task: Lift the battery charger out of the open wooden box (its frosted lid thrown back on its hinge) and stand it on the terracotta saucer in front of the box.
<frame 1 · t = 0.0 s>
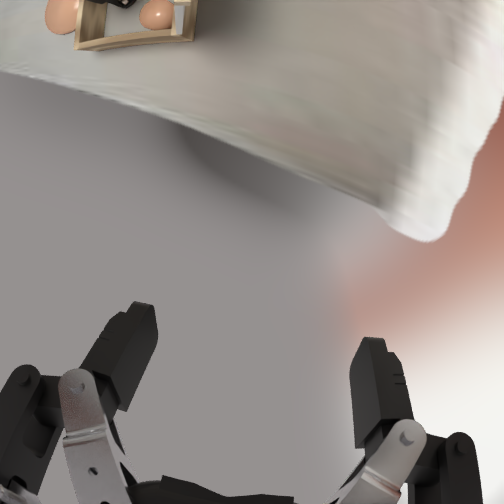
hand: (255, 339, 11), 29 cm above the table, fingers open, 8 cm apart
peach rounded capsule: (170, 19, 28), resting in wooden box
saucer: (71, 4, 26), on the table
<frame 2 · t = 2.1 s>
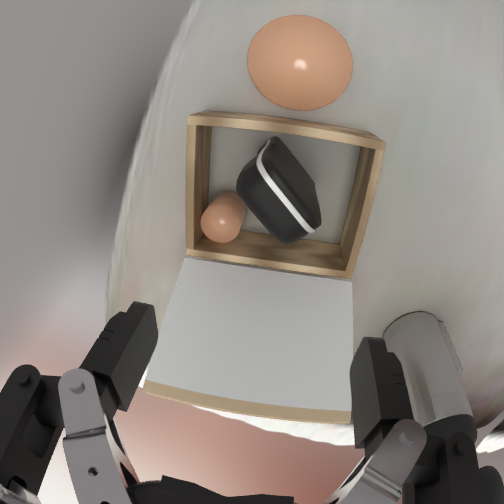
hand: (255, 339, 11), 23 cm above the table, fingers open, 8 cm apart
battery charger: (282, 169, 31), resting in wooden box
peach rounded capsule: (228, 207, 34), resting in wooden box
lid: (257, 337, 26), point 12 cm above the table, hinge at 110.0°
wooden box: (280, 183, 32), on the table
saucer: (300, 62, 25), on the table
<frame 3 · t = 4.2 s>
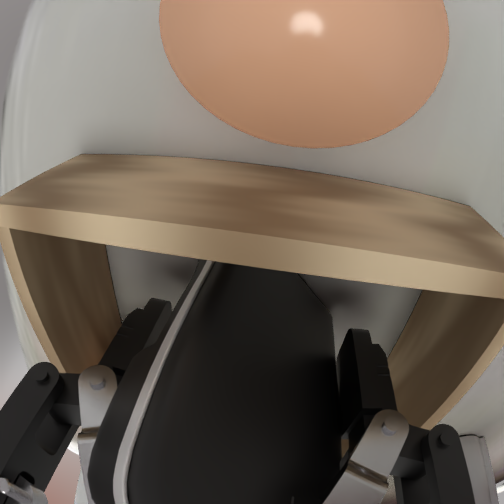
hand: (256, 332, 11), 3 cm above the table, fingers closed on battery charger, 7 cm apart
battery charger: (260, 283, 14), resting in wooden box, touching gripper
wooden box: (257, 311, 15), on the table
saucer: (307, 12, 8), on the table
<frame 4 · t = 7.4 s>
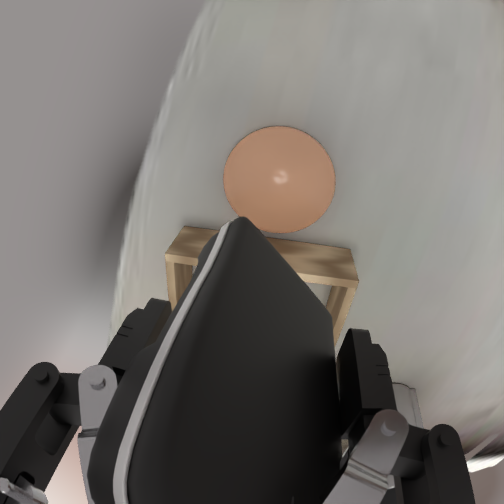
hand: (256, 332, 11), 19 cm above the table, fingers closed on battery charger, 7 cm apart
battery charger: (260, 283, 14), point 16 cm above the table, touching gripper
wooden box: (259, 292, 34), on the table
saucer: (279, 180, 27), on the table
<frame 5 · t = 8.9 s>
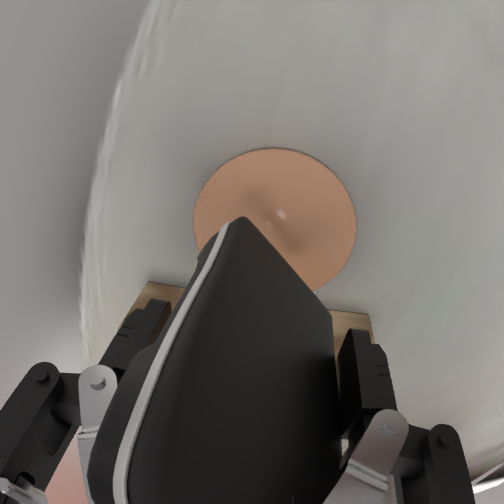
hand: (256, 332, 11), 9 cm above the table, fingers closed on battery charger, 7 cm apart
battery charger: (260, 283, 14), point 6 cm above the table, touching gripper
wooden box: (249, 360, 26), on the table
saucer: (274, 227, 19), on the table
when the fingers open (5 cm above the table, at t = 10.4 s): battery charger drops 1 cm, resting on saucer.
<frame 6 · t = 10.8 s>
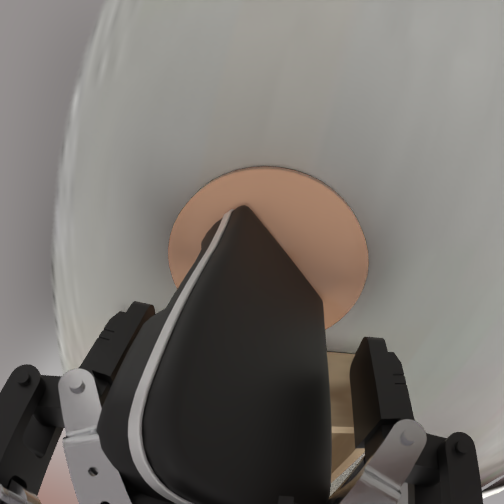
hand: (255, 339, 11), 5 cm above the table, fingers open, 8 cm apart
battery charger: (257, 269, 15), point 1 cm above the table, touching saucer
wooden box: (241, 398, 22), on the table
saucer: (267, 263, 16), on the table
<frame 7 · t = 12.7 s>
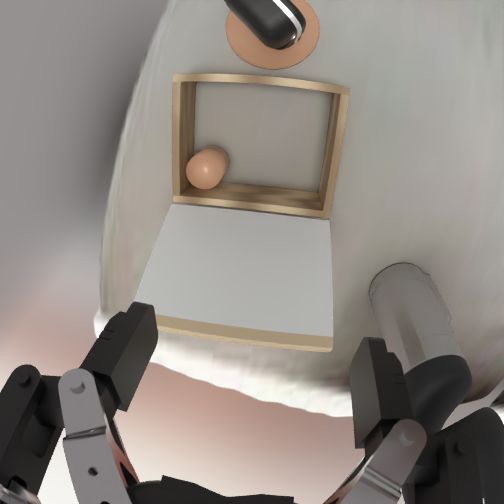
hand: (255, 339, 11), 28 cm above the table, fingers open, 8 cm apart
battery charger: (268, 27, 26), point 1 cm above the table, touching saucer
peach rounded capsule: (213, 161, 36), resting in wooden box
lid: (239, 268, 28), point 12 cm above the table, hinge at 110.0°
wooden box: (259, 135, 34), on the table
saucer: (272, 28, 27), on the table
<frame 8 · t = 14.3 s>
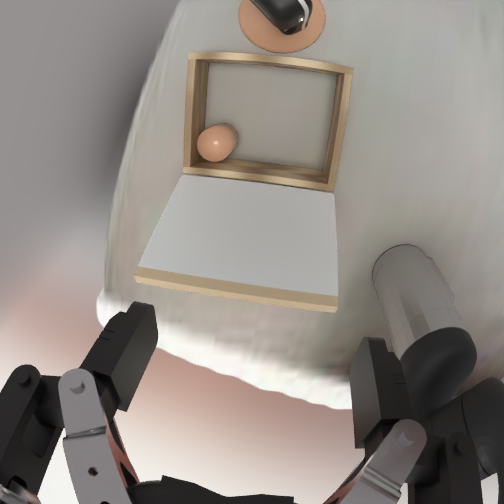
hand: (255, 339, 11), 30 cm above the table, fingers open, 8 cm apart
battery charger: (278, 15, 27), point 1 cm above the table, touching saucer
peach rounded capsule: (222, 138, 37), resting in wooden box
lid: (246, 232, 29), point 12 cm above the table, hinge at 110.0°
wooden box: (267, 114, 35), on the table
saucer: (282, 16, 28), on the table
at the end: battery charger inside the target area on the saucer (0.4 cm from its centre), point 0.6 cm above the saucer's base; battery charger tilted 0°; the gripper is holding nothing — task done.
